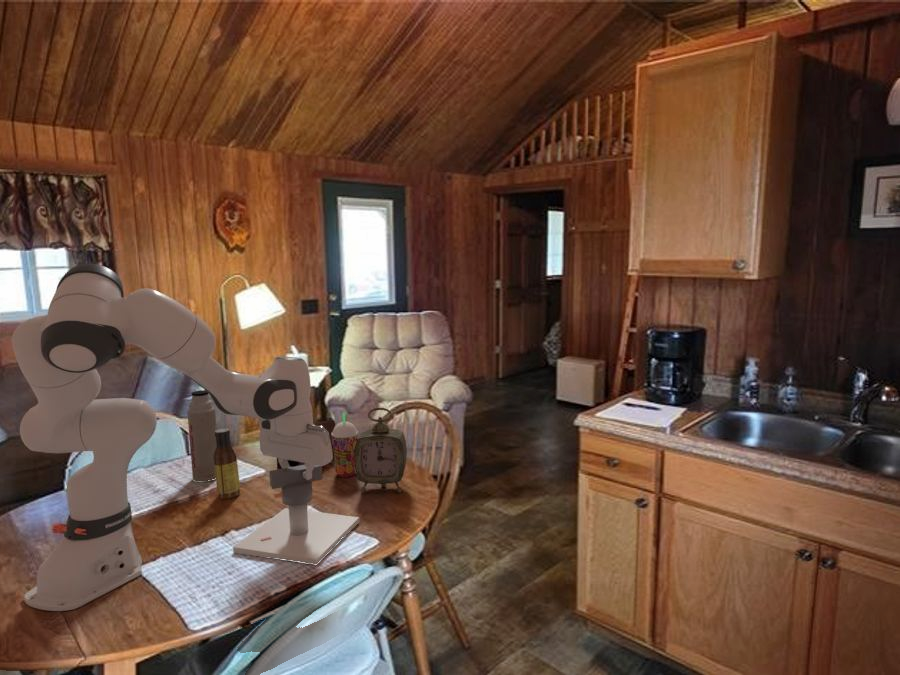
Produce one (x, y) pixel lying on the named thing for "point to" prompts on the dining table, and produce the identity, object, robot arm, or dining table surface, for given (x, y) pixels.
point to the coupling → (294, 484)
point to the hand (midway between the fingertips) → (297, 476)
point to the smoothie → (344, 447)
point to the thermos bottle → (202, 436)
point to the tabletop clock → (380, 454)
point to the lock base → (297, 535)
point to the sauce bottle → (226, 466)
